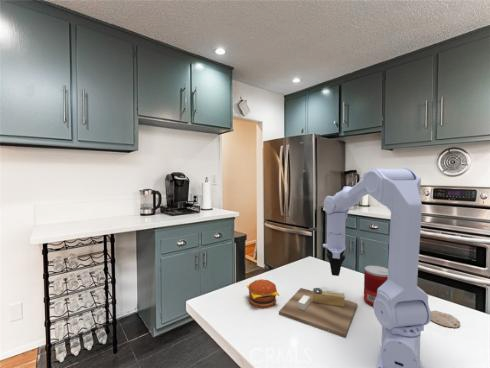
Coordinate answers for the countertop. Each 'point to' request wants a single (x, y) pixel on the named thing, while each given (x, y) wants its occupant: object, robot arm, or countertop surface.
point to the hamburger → (262, 293)
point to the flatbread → (444, 319)
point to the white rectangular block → (304, 302)
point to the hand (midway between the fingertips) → (335, 272)
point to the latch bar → (328, 297)
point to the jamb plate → (320, 313)
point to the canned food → (373, 282)
